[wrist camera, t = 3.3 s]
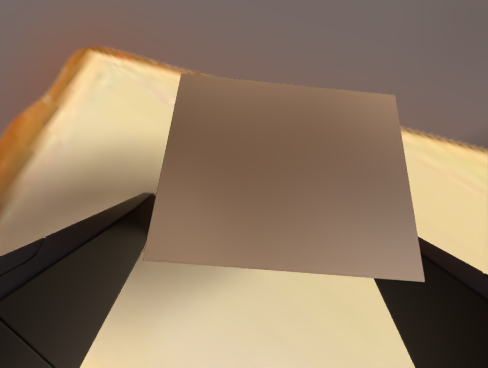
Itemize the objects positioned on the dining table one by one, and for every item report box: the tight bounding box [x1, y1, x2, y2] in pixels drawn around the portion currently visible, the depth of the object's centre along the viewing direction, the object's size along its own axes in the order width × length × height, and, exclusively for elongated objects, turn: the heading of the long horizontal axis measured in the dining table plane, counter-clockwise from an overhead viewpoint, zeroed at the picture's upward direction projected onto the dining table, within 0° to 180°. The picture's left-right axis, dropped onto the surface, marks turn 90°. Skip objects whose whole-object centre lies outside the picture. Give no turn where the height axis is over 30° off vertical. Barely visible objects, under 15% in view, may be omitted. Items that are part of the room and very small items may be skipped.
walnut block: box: [143, 74, 425, 282], centre depth 10 cm, size 4×5×13 cm
